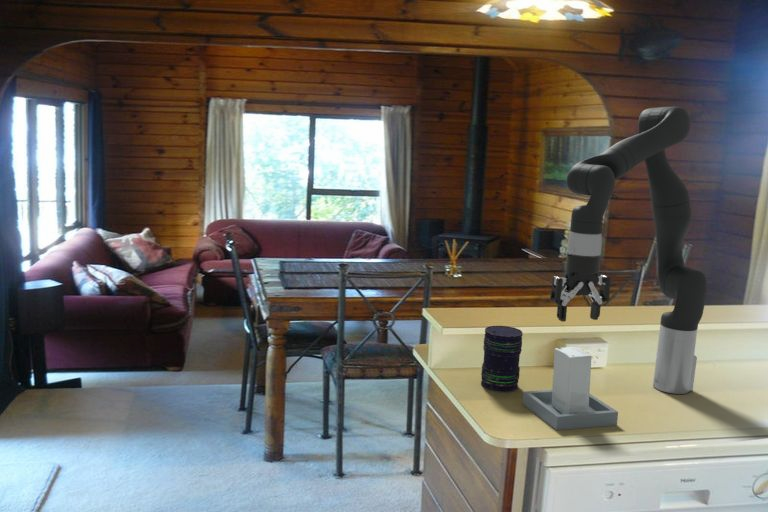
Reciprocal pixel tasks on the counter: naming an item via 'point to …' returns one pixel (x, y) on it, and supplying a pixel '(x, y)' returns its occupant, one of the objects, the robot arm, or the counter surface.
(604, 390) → the counter surface
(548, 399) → the tray
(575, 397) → the skincare box
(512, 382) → the dark blue barrel
